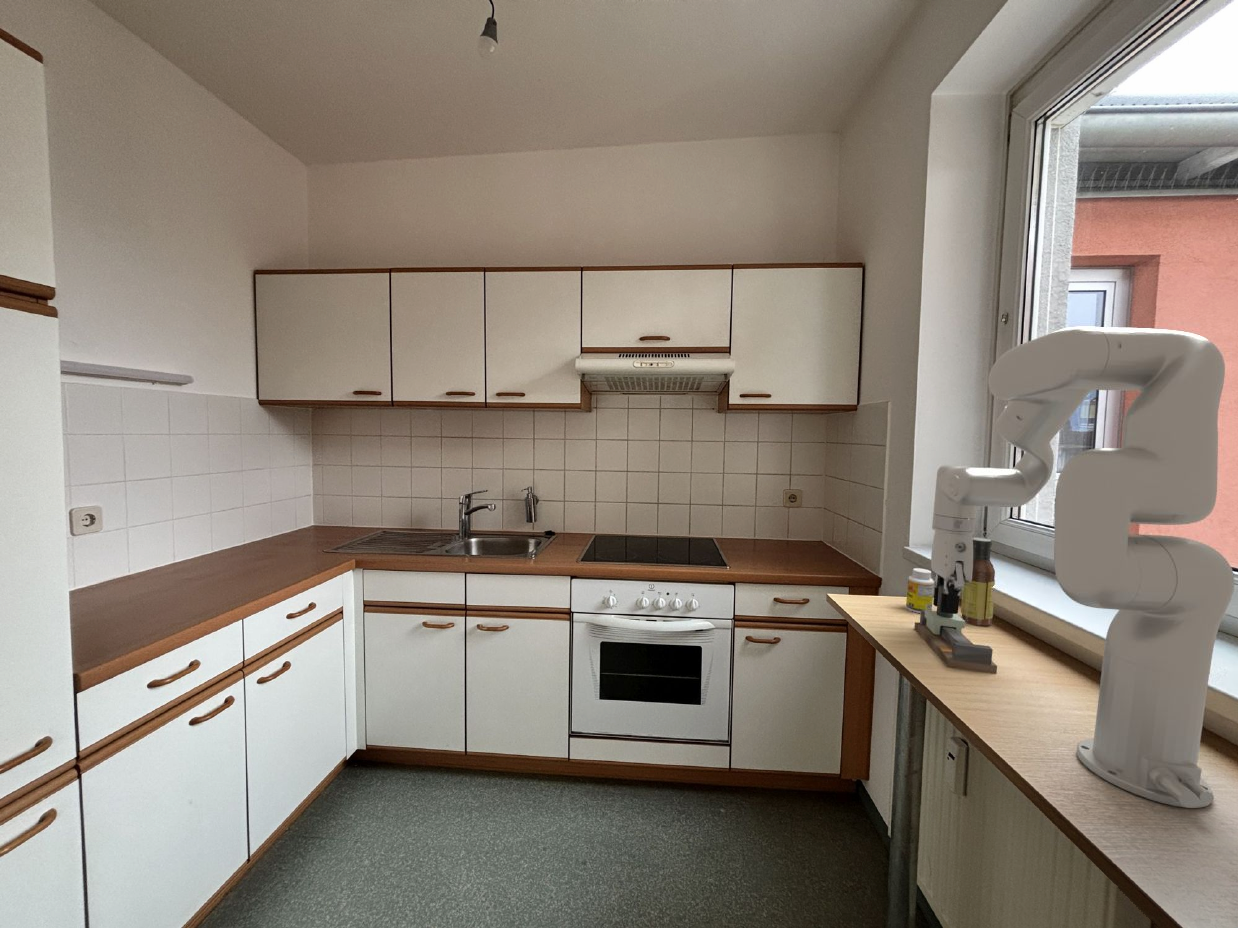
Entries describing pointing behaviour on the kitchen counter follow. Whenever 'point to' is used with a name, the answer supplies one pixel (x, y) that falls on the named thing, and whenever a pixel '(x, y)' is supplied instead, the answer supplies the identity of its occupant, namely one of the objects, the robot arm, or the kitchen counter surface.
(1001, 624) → the kitchen counter surface
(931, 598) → the supplement bottle
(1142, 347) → the robot arm
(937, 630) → the carriage
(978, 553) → the sauce bottle
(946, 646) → the rail base
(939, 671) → the kitchen counter surface
